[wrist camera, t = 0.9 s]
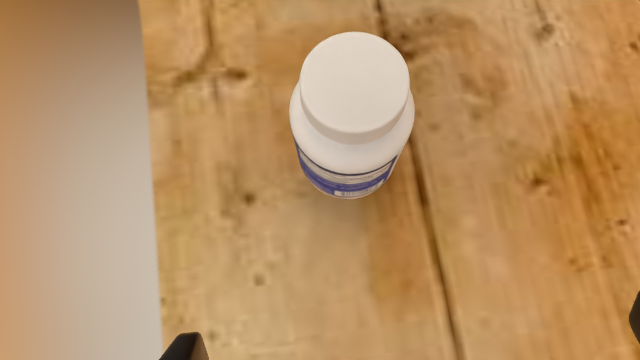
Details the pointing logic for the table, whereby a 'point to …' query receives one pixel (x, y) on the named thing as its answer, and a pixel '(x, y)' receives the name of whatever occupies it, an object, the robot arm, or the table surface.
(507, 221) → the table surface
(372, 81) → the pill bottle
